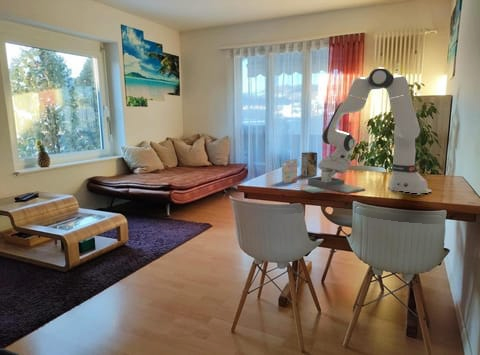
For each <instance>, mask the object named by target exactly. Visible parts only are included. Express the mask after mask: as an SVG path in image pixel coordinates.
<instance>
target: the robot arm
mask: <svg viewBox="0 0 480 355" xmlns="http://www.w3.org/2000/svg"><path fill="white" fill-rule="evenodd" d="M380 89H385V90H386V92H387V95H388V101H389V105H390V110H391V114H392V117H393V121H394V124H395V126H394V130H393V132H394V133H393V148H394V149H393V161H392V162H393V163H392V164H391V177H390V180H389V183H388V186H387V187H388V189H389V190H390V191H393V190H394V191H395V192H399V191H404V192H403V193H405V192H410V193H409V194H411V193H417V194H416V195H421V194H420V193H428V192H431V193H432V189H429V188H428V181H427V180H426V179H425V178H424V177H422V175H421V174H420V173H419V172H418V170H419V169H420V167H419V166H416V165H415V164H416V152H417V150H416V139H417V138H418V137H419V136H420V133H421V128H420V124H419V119H418V117H417V113H416V111H415V107H414V103H413V98H412V91H411V89H410V85H409V81H408V80H407V78H406V77H405V76H404V75H395V76H394V74H392V73H391V72H390V70H388V69H387V68H385V67H383V66H382V67H376V68H374V69H373V70H371V71H370V73H369V76H367V77H363V76H362V77H361V76H360V77H356V78H355V79H354V80H353V82H352V84H351V86H350V88H349V90H348V93H347V95H346V98H345V99H344V100H343V102H341V103H339V104H338V105H337V107H336V109H335V111H334V112H333V115H332V116H331V118H330V120H329V122H328V125H327V126H326V128H325V129H324V130H323V133H322V136H321V138H322V141H323V143H324V144H326V145H331V146H334V147H336V149H334V151H333V152H332V153H331V155H330V156H326V157H323V158H322V160H320V161H319V162H318V163H317V168H318V169H319V170H321V171H322V170H323V169H329V170H332V172H331V173H329V175H328V176H329V177H334V175H336V174H343V175H344V174H345V173H346V172H347V171H348V169H349V167H350V165H352V162H351V160H350V159H349V158H348V156H350V155H351V153H352V152H353V150H354V149H355V146H356V144H357V140H356V138H355V137H354V136H352V134H350V133H349V132H345V131H342V130H338V129H337V127H338V125H339V122H340V120H341V119H342V117H343V116H344V115H346V114H355V113H358V112H360V111H361V110H363V109H364V107H365V106H366V103H367V101H368V98H369V94H370V92H371V91H372V90H380ZM320 175H321V176H322V172H321V173H320ZM394 191H393V192H394ZM428 194H429V193H428Z"/></svg>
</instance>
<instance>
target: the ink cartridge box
mask: <svg viewBox="0 0 480 355" xmlns="http://www.w3.org/2000/svg"><path fill="white" fill-rule="evenodd" d="M297 182H298V159H297V158H292V159H286V160H285V163H282V164H281V183H285V184H287V183H288V184H289V183H297Z"/></svg>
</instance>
